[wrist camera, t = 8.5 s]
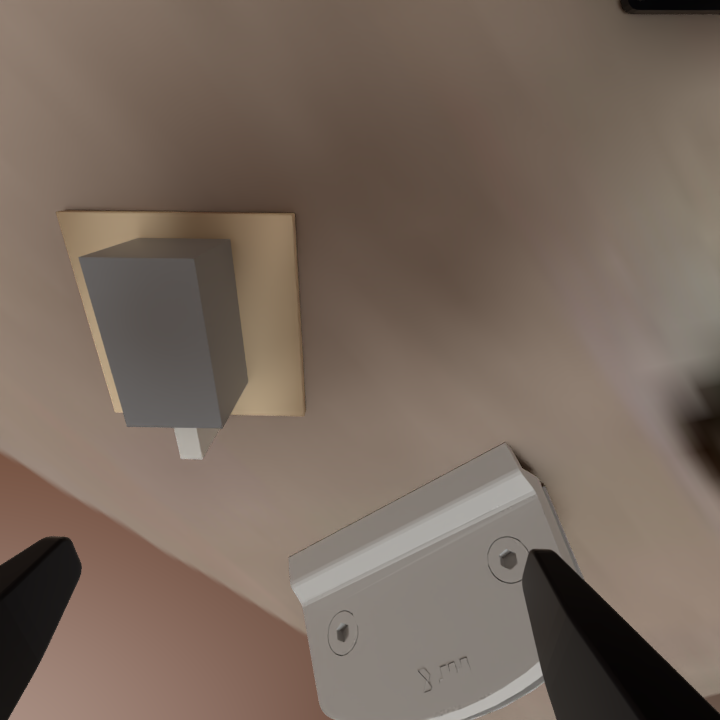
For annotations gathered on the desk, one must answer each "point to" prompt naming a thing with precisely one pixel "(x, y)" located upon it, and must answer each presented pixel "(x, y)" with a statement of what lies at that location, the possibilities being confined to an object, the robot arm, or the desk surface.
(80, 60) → the desk surface
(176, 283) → the plug
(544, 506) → the hinge
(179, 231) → the coaster
